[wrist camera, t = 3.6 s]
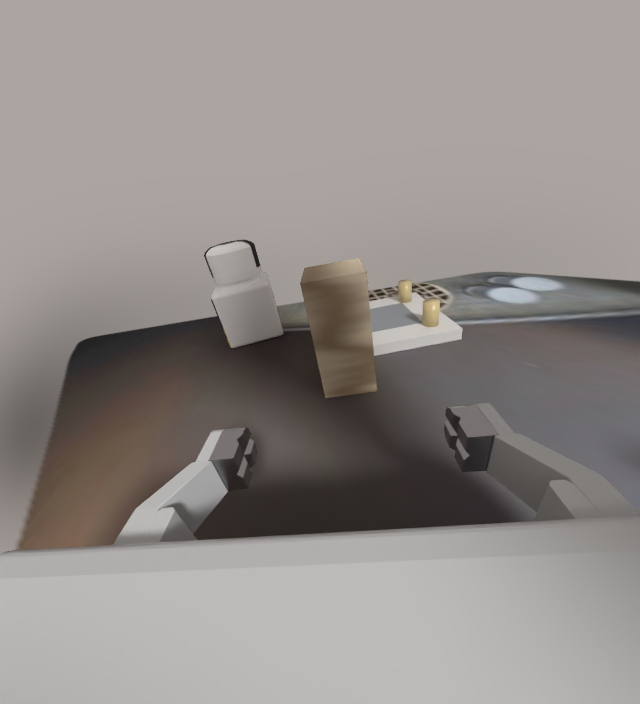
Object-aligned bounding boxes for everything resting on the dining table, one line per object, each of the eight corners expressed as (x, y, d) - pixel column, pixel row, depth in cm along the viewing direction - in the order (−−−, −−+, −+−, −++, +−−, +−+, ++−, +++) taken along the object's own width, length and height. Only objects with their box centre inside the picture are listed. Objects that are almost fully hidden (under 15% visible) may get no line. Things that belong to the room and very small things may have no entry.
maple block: (369, 362, 26) (358, 258, 21) (377, 391, 22) (366, 271, 17) (325, 369, 26) (304, 268, 21) (325, 397, 22) (300, 283, 17)
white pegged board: (415, 300, 37) (415, 274, 35) (461, 339, 26) (465, 304, 25) (331, 317, 37) (326, 291, 35) (343, 361, 27) (338, 329, 25)
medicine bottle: (233, 329, 40) (201, 246, 34) (279, 317, 41) (256, 234, 35) (230, 350, 34) (191, 253, 28) (284, 335, 35) (257, 239, 29)
